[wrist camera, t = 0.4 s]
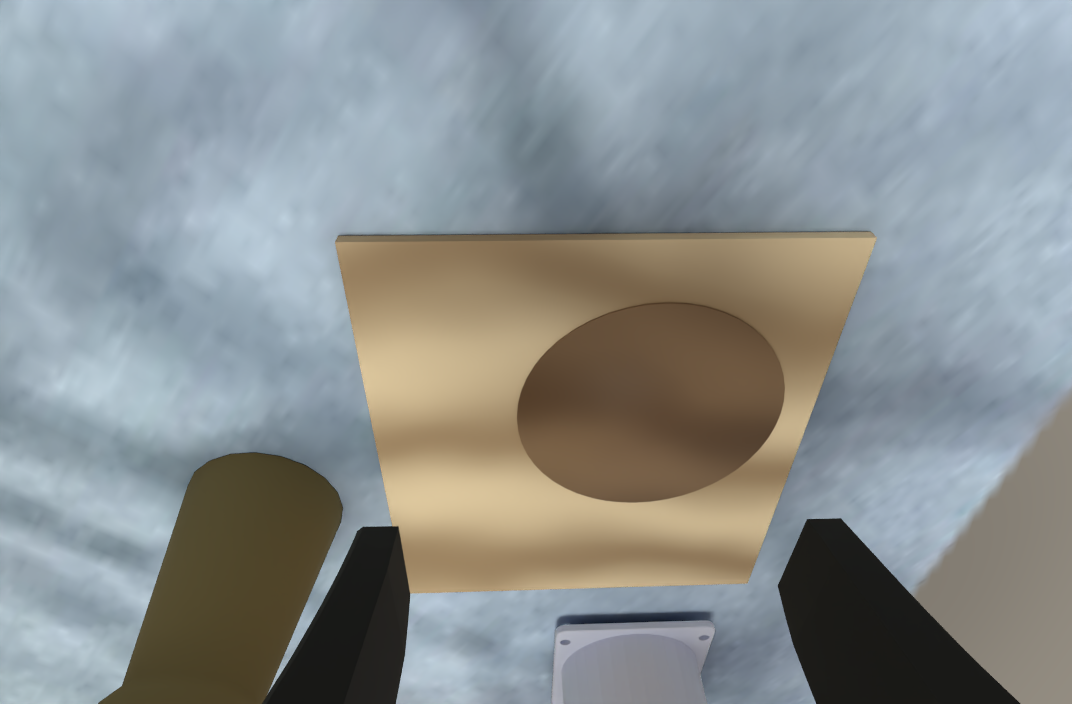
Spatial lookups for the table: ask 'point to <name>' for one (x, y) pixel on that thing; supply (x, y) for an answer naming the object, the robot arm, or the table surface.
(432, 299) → the mat
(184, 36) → the table surface
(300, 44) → the table surface
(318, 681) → the robot arm
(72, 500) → the table surface
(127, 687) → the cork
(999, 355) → the table surface
